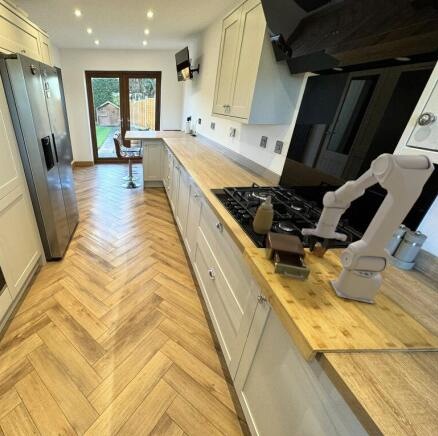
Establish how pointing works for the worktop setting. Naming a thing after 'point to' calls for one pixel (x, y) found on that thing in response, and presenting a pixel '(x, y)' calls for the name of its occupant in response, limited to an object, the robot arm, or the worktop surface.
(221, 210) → the worktop surface
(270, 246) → the cabinet
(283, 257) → the drawer
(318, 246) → the small brown jar
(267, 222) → the squeeze bottle
